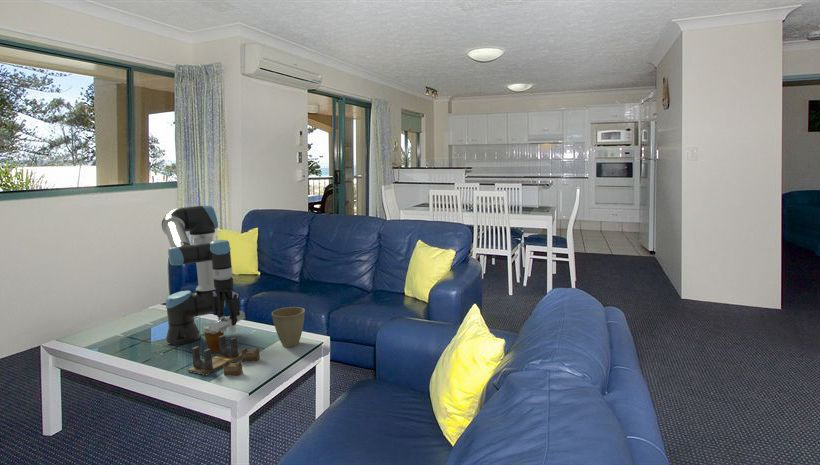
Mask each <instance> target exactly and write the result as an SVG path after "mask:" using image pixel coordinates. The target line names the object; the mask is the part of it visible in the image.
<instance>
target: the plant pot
mask: <svg viewBox="0 0 820 465" xmlns="http://www.w3.org/2000/svg"><path fill="white" fill-rule="evenodd" d="M305 310H306V309H305V308H303V307H298V306H289V307H287V306H286V307H282V308H277V309H275V310H273V311H272V312H271V318H272V320H273V325H274V328H275V332H276V334H277V337H278V339H279V341H280V344H281V345H282V346H283V347H284V348H293V347H297V346H298V345H299V343H300V341H301V338H302V337H301V336H302V333H303V328H304V321H305ZM296 345H297V346H296Z"/></svg>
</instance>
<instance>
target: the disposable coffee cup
mask: <svg viewBox="0 0 820 465" xmlns="http://www.w3.org/2000/svg"><path fill="white" fill-rule="evenodd" d="M213 323H214V322H211V323H207V324H205V325H203V327H202V332H203V335H204V338H205V343H206V346H207V349H211V354H216V353H220V348H219V338H218V337H220V336H222V335H225V332H223V333H221V331H219V332H217V333H216V334H211V333H210V332H209V326H210V325H211V324H213Z"/></svg>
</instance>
